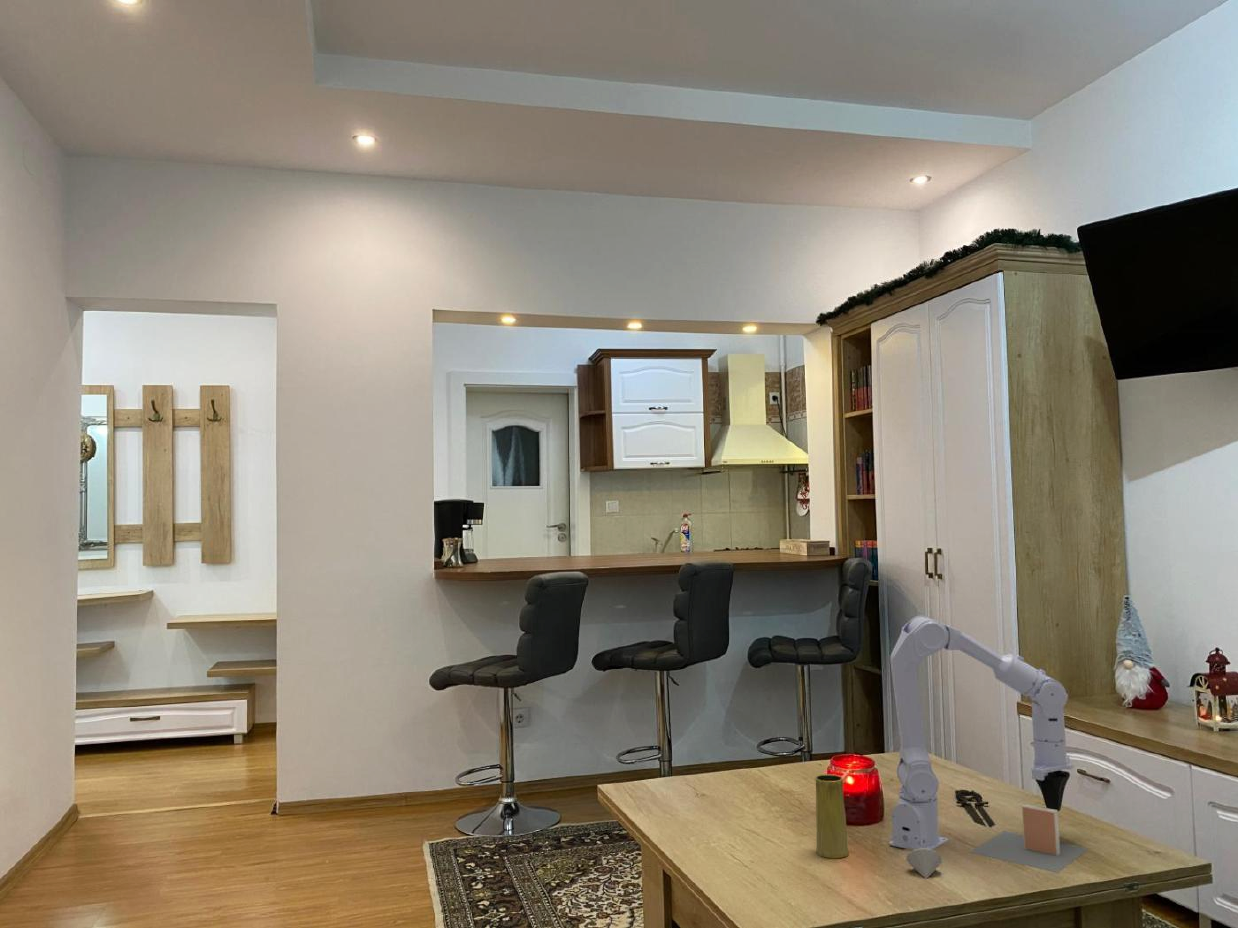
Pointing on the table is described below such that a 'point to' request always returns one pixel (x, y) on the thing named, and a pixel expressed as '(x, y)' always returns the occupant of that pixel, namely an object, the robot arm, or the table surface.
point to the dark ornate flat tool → (970, 808)
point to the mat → (1027, 852)
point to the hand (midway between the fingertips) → (1053, 809)
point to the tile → (1041, 829)
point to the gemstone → (924, 861)
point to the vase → (830, 817)
